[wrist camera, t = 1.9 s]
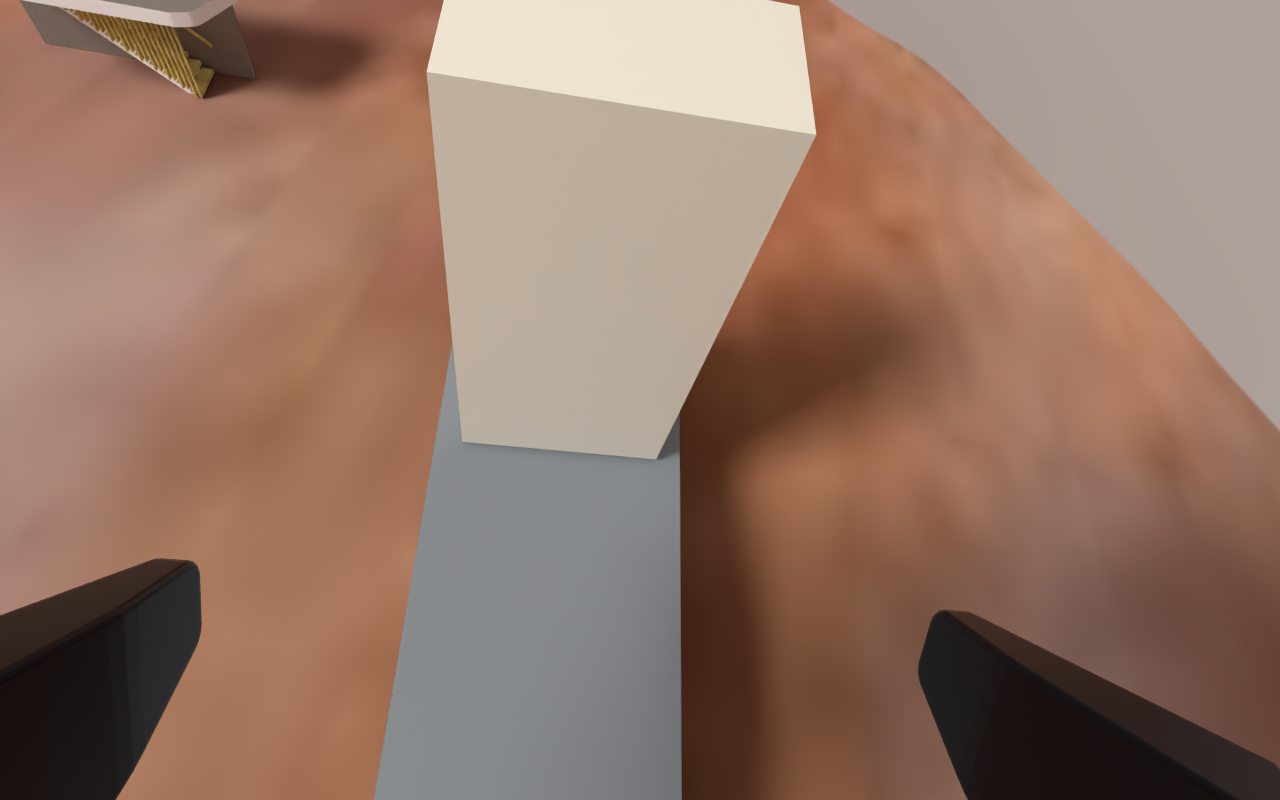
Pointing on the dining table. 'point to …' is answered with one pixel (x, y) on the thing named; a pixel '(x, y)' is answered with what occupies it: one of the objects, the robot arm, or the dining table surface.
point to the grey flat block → (540, 627)
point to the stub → (605, 202)
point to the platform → (151, 35)
